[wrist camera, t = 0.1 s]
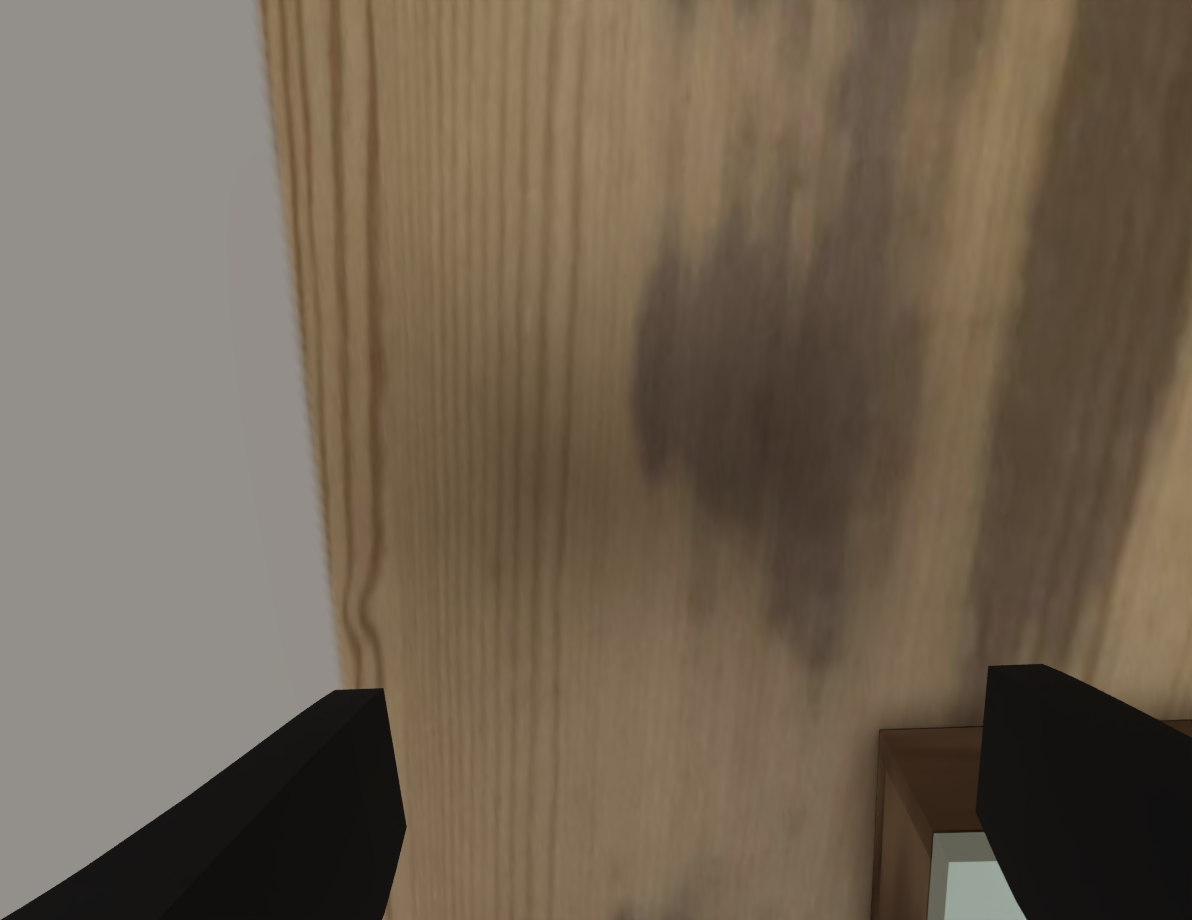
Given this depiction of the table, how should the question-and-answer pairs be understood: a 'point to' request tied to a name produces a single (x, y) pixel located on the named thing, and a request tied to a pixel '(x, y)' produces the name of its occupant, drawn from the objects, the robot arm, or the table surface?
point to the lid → (968, 881)
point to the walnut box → (924, 809)
